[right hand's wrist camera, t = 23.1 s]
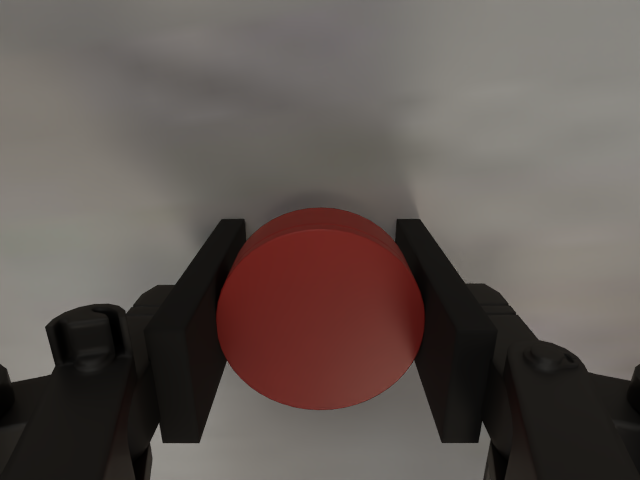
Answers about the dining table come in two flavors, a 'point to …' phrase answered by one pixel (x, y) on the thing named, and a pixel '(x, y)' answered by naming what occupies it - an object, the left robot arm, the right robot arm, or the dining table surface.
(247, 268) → the lid
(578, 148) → the dining table surface
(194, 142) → the dining table surface
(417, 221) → the right robot arm
